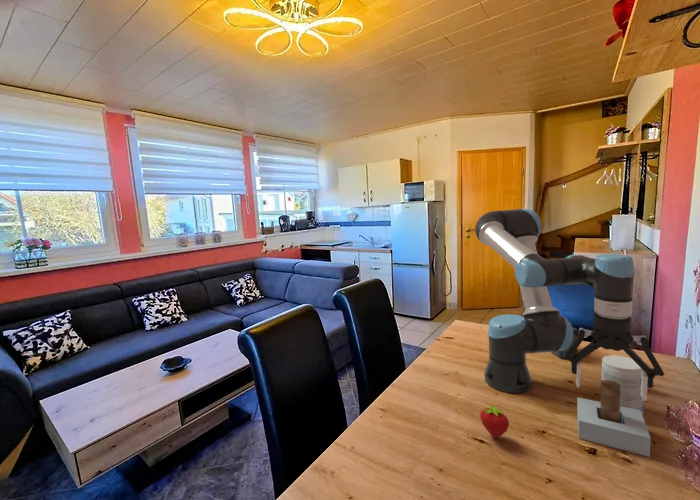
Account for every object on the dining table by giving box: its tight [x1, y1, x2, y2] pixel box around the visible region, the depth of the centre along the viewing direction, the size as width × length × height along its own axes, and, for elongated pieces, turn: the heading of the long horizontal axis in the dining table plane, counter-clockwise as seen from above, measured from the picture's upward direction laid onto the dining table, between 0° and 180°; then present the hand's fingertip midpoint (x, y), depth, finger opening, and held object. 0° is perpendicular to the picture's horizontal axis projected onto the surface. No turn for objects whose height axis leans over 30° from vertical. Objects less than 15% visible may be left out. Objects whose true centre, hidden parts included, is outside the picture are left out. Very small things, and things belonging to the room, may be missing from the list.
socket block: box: [576, 397, 651, 458], centre depth 86 cm, size 14×12×5 cm
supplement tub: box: [601, 355, 645, 415], centre depth 95 cm, size 10×10×15 cm
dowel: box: [600, 379, 621, 423], centre depth 86 cm, size 4×4×14 cm
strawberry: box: [479, 403, 510, 439], centre depth 87 cm, size 6×8×10 cm
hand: (609, 391), depth 86 cm, fingers open, 13 cm apart
